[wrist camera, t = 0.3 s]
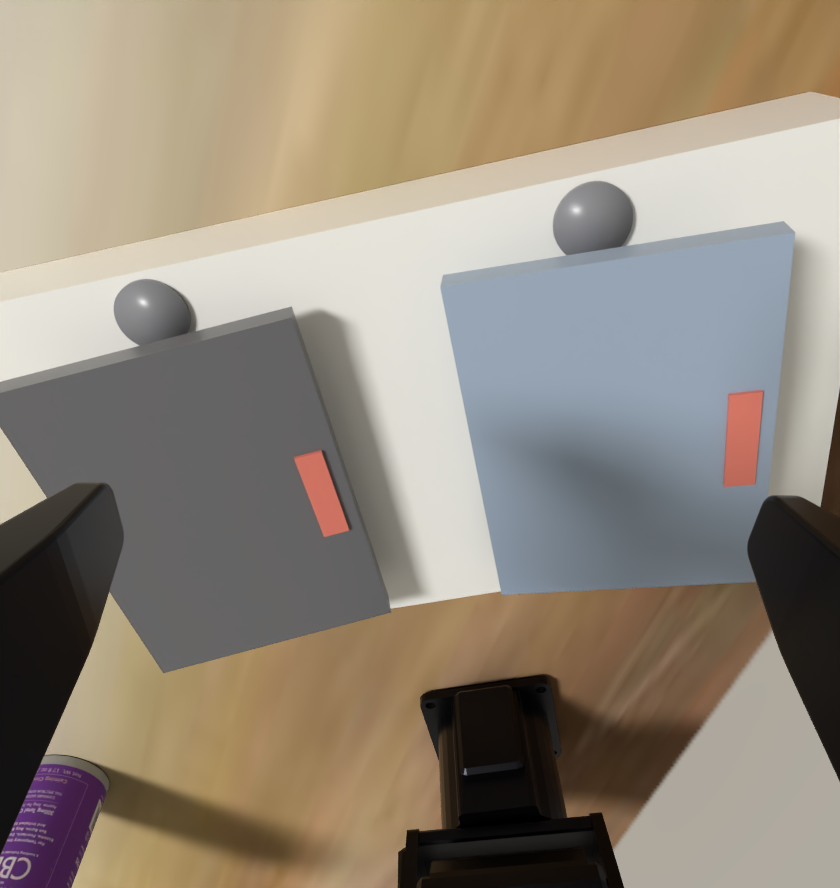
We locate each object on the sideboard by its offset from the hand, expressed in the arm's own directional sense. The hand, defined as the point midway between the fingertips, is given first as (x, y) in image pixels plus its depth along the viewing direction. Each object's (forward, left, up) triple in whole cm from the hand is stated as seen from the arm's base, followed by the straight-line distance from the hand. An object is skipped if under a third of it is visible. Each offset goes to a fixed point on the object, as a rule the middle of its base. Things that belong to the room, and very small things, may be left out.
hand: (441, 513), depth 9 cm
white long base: (-5, +1, -14) cm, 15 cm away
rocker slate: (-5, -4, -9) cm, 11 cm away
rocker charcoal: (-6, +8, -9) cm, 13 cm away
